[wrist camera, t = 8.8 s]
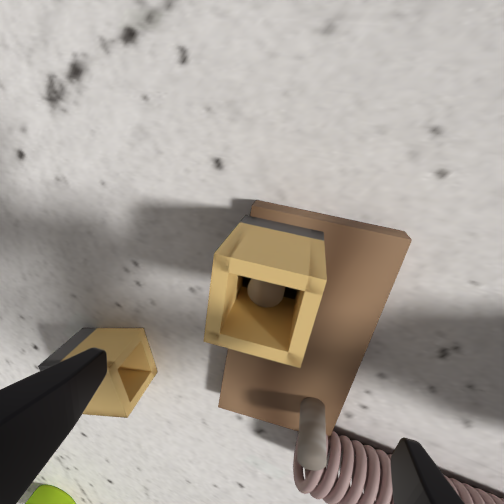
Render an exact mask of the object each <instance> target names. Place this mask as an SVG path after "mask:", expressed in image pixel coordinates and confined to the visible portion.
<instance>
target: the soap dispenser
mask: <svg viewBox="0 0 504 504" xmlns="http://www.w3.org/2000/svg"><path fill="white" fill-rule="evenodd" d="M25 504H76V503H75V502H74V500H73V499H72V498H71V497H70V496H69V495H68V494H67V493H65V492H64V491H62V490H60V489H58V488H56V487H53V486H49V485H41V486H39V487H38V488H37V489H36V491H35V492H34V493H33V494H32V496H31V497H30V498H29V500H28V501H27V502H26V503H25Z"/></svg>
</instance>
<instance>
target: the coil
mask: <svg viewBox="0 0 504 504" xmlns="http://www.w3.org/2000/svg"><path fill="white" fill-rule="evenodd" d="M298 436H299V435H298ZM329 449H330V456H329V461H328V465H327V464H326V466H327V469H326V467H325V468H323V469H321V470H317V471H313V470H308V469H306V468H305V478H306V479H305V480H304V476H303V467H302V466H301V465H300V464H299V463H298V460H297V453H298V438H297V442H296V447H295V453H294V463H293V472H294V481H295V485H296V487H297V488H298V490H299V491H300V492H301V493H304V494H307V493H310V494H311V496H312V497H314V498H316V499H322V498H323V500H324V501H325V502H326V503H328V504H394V502H393V490H392V477H391V464H390V462H391V456H392V454H388V455H387V454H386V453H385V452H384V451H382V450H375V449H374V448H373V447H371V446H370V445H362V444H361V443H360V442H359V441H357V440H352V441H350V439H349V438H348V437H347V436H344V435H341V436H338V435H337V433H336V432H334V431H332V434H331V436H330V438H329V440H328V436H327V434H326V456H327V458H328V453H329ZM342 450H343V457H342V461H341V469H340V475H339V478H338V469H339V464H340V456H341V453H342ZM354 454H355V455H356V456H355V459H354ZM367 457H368V459H367ZM379 461H380V463H379ZM351 476H352V485H351V487H350V480H351ZM444 476H445V475H444ZM445 478H446V479H447V480H448V482H449V483H450V484H451V486H452V487H453V488H454V490H455V491H456V492H457V494H458V495H459V496H460V498H461V499H462V500H463V502H464V503H465V504H504V498H499V497H497V496H495V495H493V494H491V493H486V492H484V491H483V490H481V489H479V488H473V487H472V486H470V485H468V484H466V483H460V482H459V481H457V480H456V479H453V478H448V477H447V476H445ZM317 484H318V485H317ZM363 488H364V494H363V492H362V491H363ZM375 499H376V501H375Z"/></svg>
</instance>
